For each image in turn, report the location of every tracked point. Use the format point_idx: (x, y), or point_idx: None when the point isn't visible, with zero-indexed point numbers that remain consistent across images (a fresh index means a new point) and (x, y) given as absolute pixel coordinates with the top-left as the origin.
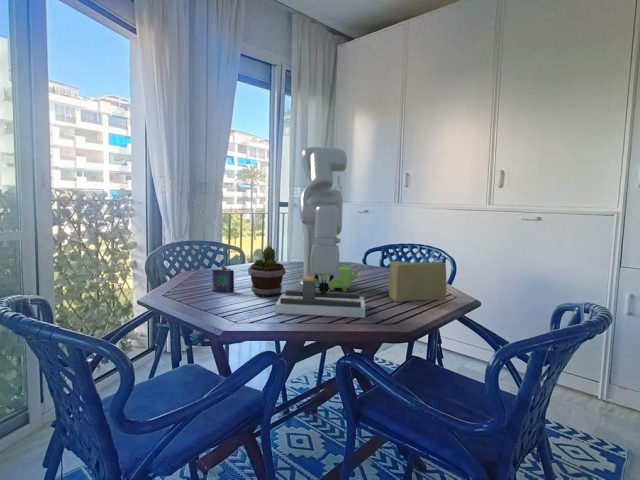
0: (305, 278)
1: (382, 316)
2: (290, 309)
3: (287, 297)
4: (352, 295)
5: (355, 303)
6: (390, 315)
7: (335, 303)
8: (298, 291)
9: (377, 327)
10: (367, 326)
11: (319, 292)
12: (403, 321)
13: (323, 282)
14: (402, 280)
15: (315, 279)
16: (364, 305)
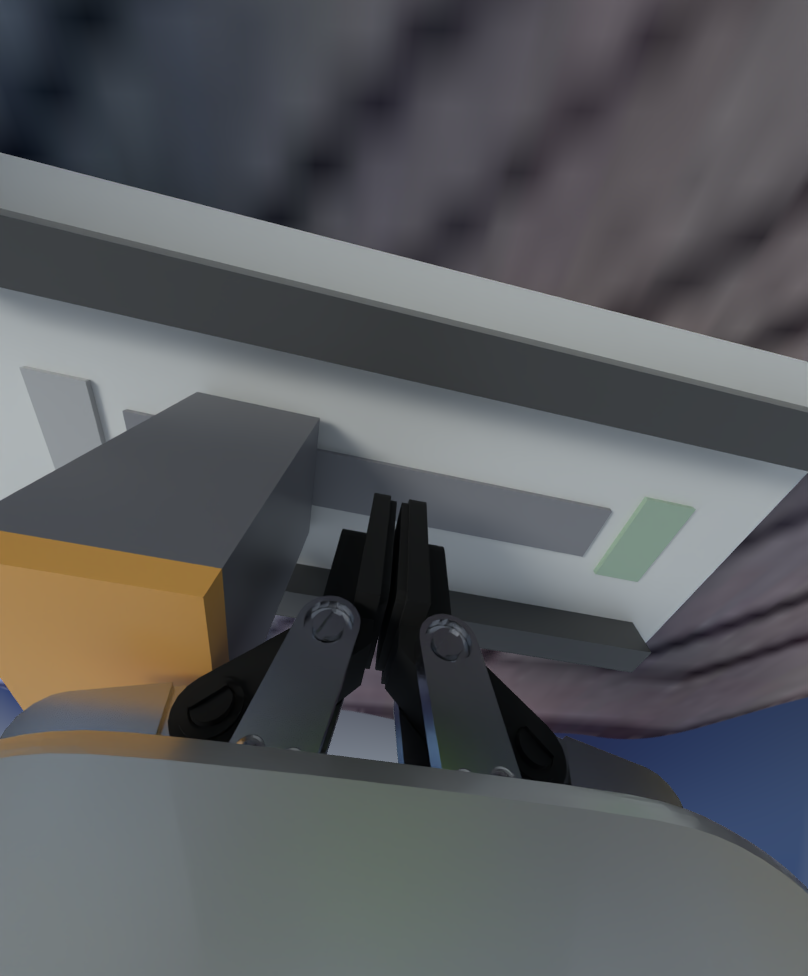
0: (46, 696)
1: (718, 602)
2: None
3: (16, 366)
4: (739, 451)
5: (593, 661)
6: (782, 592)
7: None
8: (61, 290)
9: (584, 697)
10: (549, 688)
11: (364, 360)
12: (761, 660)
13: (375, 625)
14: None
15: (227, 634)
16: (672, 611)
